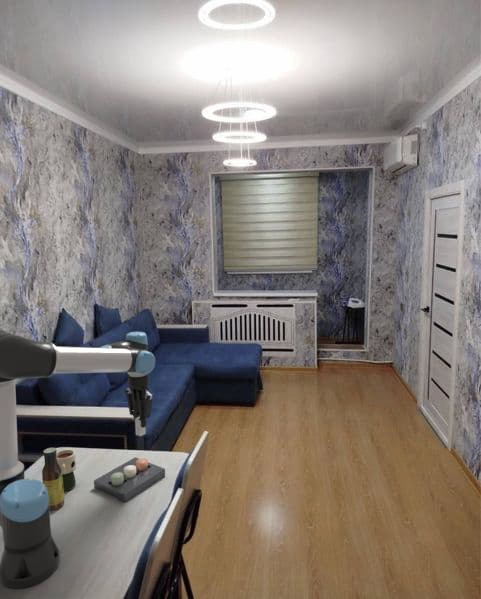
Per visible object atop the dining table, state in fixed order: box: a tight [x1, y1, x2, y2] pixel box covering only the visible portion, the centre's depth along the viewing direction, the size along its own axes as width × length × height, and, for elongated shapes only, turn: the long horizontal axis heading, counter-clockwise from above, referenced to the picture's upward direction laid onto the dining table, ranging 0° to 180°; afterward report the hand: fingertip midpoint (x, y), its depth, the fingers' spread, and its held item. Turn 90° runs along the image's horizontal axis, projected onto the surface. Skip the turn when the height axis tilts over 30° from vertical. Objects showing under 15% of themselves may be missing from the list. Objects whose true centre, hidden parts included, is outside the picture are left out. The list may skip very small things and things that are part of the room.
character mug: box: [56, 448, 77, 491], centre depth 161 cm, size 11×7×13 cm, turn 15°
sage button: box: [111, 472, 124, 487], centre depth 160 cm, size 4×4×4 cm
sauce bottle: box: [41, 447, 65, 511], centre depth 150 cm, size 7×6×20 cm
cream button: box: [124, 465, 136, 480], centre depth 165 cm, size 4×4×4 cm
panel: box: [93, 456, 166, 503], centre depth 165 cm, size 20×16×3 cm
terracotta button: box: [136, 458, 148, 472], centre depth 170 cm, size 4×4×4 cm
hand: (140, 434), depth 168 cm, fingers closed
